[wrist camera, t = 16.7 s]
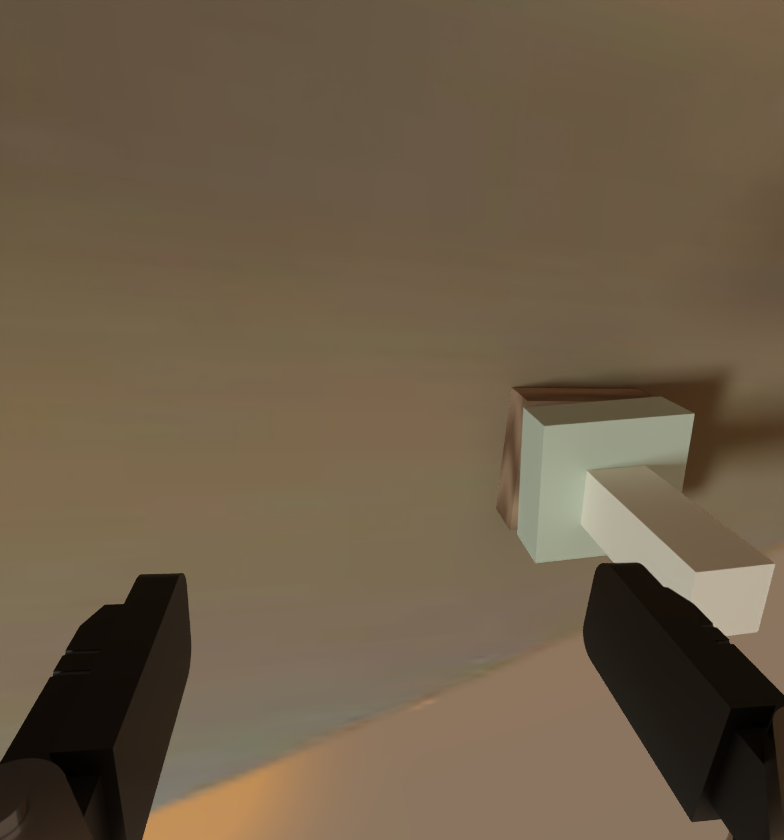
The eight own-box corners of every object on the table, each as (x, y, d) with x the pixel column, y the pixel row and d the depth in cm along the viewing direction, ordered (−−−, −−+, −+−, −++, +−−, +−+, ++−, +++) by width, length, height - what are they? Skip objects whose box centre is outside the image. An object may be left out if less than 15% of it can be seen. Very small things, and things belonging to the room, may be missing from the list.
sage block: (523, 407, 41) (544, 426, 37) (661, 396, 42) (694, 413, 38) (517, 534, 45) (535, 563, 41) (643, 521, 46) (672, 547, 42)
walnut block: (510, 385, 45) (527, 401, 41) (635, 387, 46) (663, 402, 42) (494, 506, 48) (509, 529, 45) (611, 503, 50) (635, 526, 46)
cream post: (586, 470, 39) (695, 572, 28) (644, 465, 39) (775, 563, 28) (580, 524, 40) (682, 641, 29) (636, 518, 41) (757, 631, 30)
